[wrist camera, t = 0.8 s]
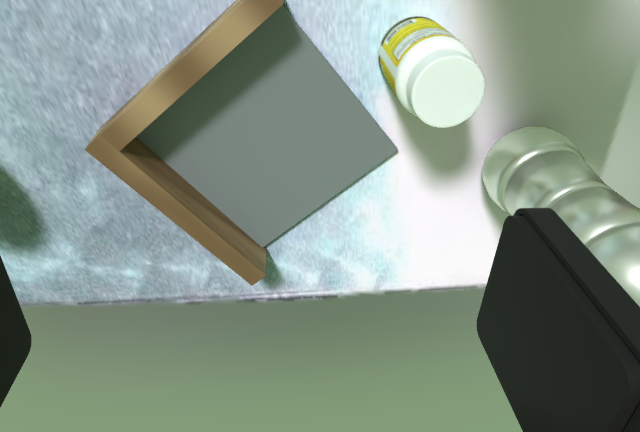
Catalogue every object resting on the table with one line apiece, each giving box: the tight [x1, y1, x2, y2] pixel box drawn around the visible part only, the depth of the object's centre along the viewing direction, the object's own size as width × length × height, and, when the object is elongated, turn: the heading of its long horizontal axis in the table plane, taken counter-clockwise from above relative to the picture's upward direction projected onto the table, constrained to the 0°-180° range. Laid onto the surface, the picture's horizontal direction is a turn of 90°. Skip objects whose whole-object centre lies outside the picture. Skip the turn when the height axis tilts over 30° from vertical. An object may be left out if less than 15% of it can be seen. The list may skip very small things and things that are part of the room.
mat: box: [136, 5, 398, 248], centre depth 36 cm, size 14×14×1 cm
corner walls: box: [85, 0, 284, 285], centre depth 35 cm, size 16×16×4 cm
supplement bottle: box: [378, 16, 485, 128], centre depth 30 cm, size 5×5×8 cm
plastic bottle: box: [482, 126, 640, 307], centre depth 30 cm, size 6×7×20 cm
